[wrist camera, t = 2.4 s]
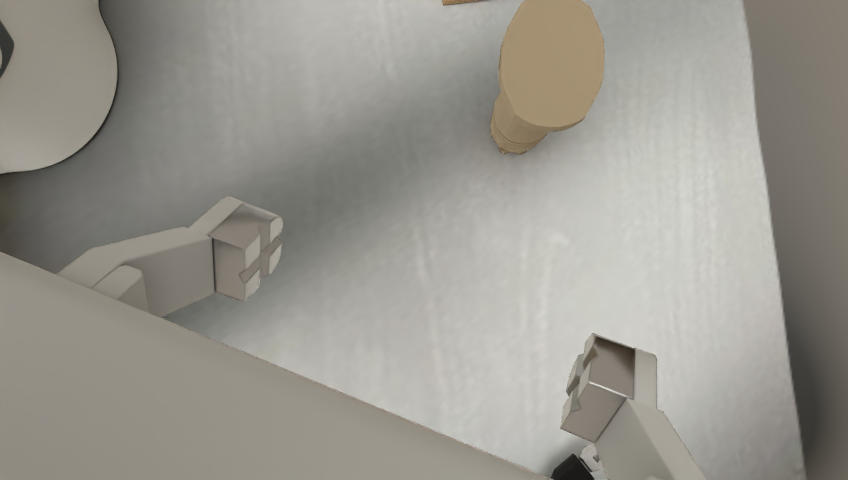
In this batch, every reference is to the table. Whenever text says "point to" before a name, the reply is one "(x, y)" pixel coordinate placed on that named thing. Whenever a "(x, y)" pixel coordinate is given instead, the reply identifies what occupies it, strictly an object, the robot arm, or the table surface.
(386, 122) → the table surface
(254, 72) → the table surface
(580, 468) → the robot toy
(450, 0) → the board
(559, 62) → the handle
